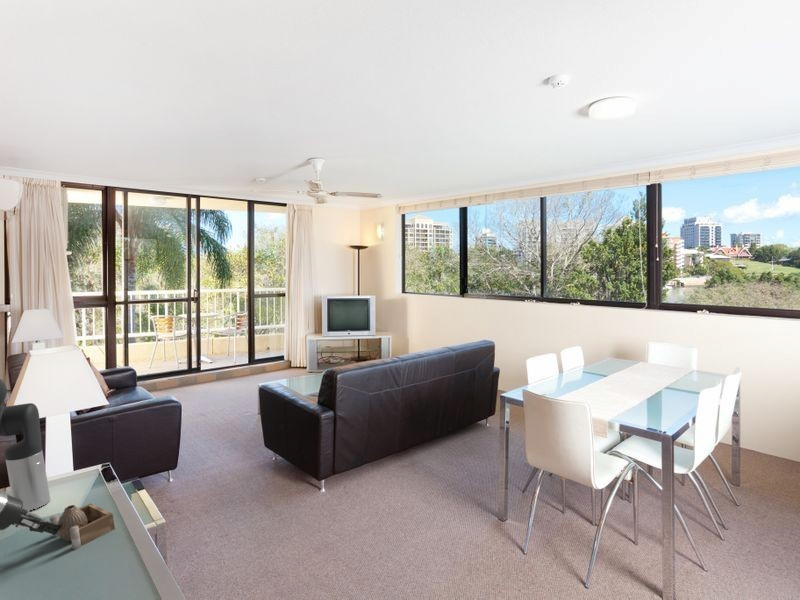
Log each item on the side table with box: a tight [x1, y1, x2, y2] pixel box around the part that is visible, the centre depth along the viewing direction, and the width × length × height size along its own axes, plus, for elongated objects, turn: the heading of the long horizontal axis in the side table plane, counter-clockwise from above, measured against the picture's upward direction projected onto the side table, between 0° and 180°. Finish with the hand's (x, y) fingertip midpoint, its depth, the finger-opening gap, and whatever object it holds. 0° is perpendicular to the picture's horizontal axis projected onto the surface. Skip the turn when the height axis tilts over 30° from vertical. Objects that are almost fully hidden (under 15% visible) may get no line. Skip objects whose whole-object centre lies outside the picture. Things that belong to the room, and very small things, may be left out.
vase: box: [57, 504, 89, 542], centre depth 130 cm, size 7×7×9 cm
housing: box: [49, 503, 116, 550], centre depth 132 cm, size 14×10×6 cm
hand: (57, 530), depth 127 cm, fingers closed
